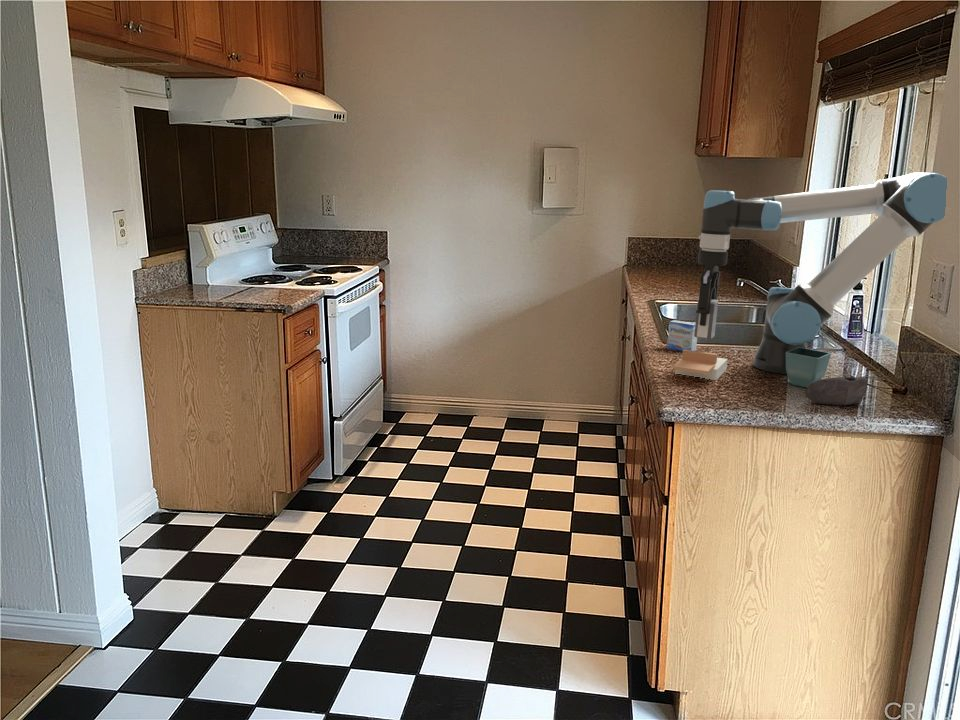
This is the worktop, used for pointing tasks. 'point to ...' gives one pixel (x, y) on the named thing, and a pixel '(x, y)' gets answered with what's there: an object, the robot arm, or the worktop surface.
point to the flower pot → (806, 366)
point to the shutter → (696, 361)
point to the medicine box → (681, 336)
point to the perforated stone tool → (837, 390)
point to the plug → (711, 320)
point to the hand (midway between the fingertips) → (704, 335)
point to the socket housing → (712, 375)
